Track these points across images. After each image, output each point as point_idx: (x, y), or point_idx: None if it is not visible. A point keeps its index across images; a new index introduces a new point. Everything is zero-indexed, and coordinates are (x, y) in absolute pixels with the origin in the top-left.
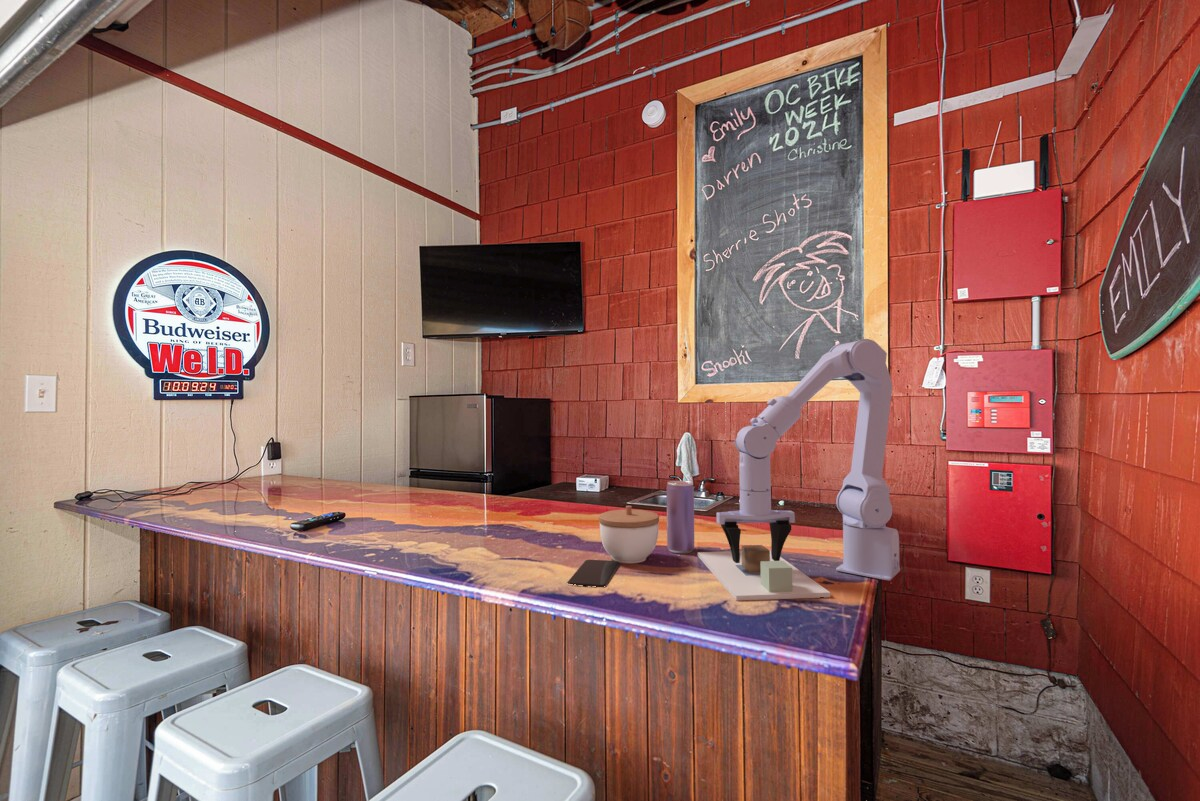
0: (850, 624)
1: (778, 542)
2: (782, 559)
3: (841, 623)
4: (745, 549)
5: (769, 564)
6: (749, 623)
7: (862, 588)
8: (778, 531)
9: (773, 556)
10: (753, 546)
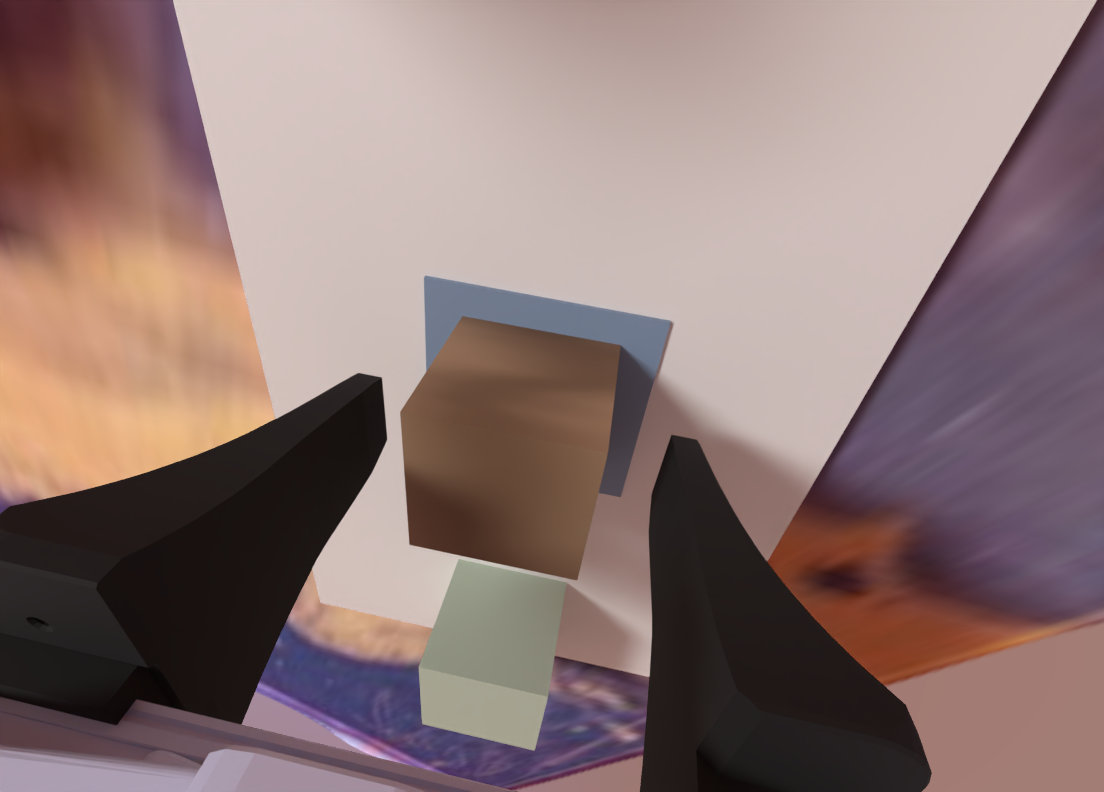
0: (594, 754)
1: (652, 655)
2: (940, 230)
3: (575, 746)
4: (408, 486)
5: (446, 703)
6: (335, 679)
7: (924, 663)
8: (648, 773)
9: (662, 480)
10: (499, 469)
